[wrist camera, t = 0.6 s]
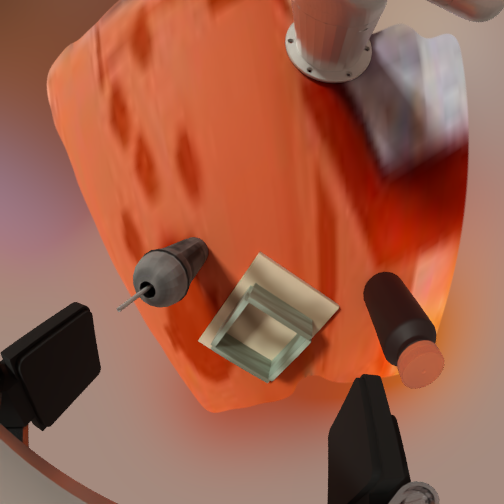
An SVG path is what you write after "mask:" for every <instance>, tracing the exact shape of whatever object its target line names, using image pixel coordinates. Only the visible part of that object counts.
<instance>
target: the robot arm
mask: <svg viewBox="0 0 504 504" xmlns="http://www.w3.org/2000/svg"><path fill="white" fill-rule="evenodd" d="M427 1H429V2H431V3H433V4H435V5H437V6H439V7H441V8H443V9H445V10H447V11H449V12H451V13H453V14H455V15H457V16H459V17H461V18H464V19H466V20H469V21H473V22H484V21H488V20H490V19H492V18H494V17H495V16H497V15H498V14H499V13H500V12H501V10H502V9H503V8H504V0H427ZM291 3H292V10H293V19H294V22H293V23H292V24H291V26H290V27H289V29H288V31H287V34H286V39H285V45H286V50H287V54H288V56H289V58H290V60H291V62H292V63H293V64H294V66H295V67H296V68H297V69H298V70H300V71H301V72H302V73H303V74H305V75H307V76H308V77H310V78H313V79H315V80H318V81H322V82H326V83H343V82H347V81H350V80H353V79H355V78H357V77H358V76H359V75H361V74H362V73H363V72H364V71H365V70H366V68H367V67H368V65H369V63H370V60H371V56H372V47H371V43H370V40H369V38H370V36H371V34H372V32H373V30H374V28H375V26H376V24H377V22H378V20H379V18H380V16H381V14H382V13H383V11H384V8H385V6H386V3H387V0H291ZM290 42H292V43H290ZM365 50H367V51H365ZM309 70H310V71H312V72H311V73H309V72H308V71H309ZM347 74H349V75H350V77H348V76H347ZM1 355H2V358H3V360H2V361H0V504H117V503H115V502H113V501H111V500H109V499H107V498H105V497H103V496H101V495H100V494H98V493H96V492H94V491H92V490H91V489H89V488H87V487H85V486H84V485H82V484H80V483H78V482H77V481H75V480H74V479H72V478H70V477H69V476H67V475H66V474H64V473H63V472H61V471H60V470H58V469H57V468H55V467H54V466H52V465H51V464H49V463H48V462H47V461H45V460H44V459H43V458H41V457H40V456H38V455H37V454H36V453H35V452H33V451H32V450H31V449H30V448H29V440H28V438H29V437H28V423H29V422H30V421H32V423H33V424H34V425H35V426H36V427H38V428H39V429H40V430H42V431H43V430H44V429H45V428H46V427H49V426H51V425H52V424H53V423H54V422H55V421H56V420H57V419H58V418H59V417H60V416H61V414H62V413H63V412H64V411H65V410H66V409H67V408H68V407H69V406H70V405H71V404H72V402H73V401H74V400H75V399H76V398H77V397H78V396H79V395H80V394H81V393H82V392H83V391H84V390H85V388H86V387H87V386H88V385H89V384H90V383H91V382H92V381H93V380H94V379H95V378H96V377H97V376H98V375H99V373H100V370H101V366H100V361H99V355H98V350H97V344H96V338H95V331H94V324H93V316H92V313H91V312H90V309H89V308H88V307H87V306H85V305H82V304H80V303H77V302H74V303H72V304H70V305H69V306H67V307H66V308H64V309H63V310H61V311H60V312H58V313H57V314H55V315H54V316H52V317H51V318H49V319H48V320H46V321H45V322H43V323H42V324H40V325H39V326H37V327H36V328H34V329H33V330H32V331H30V332H29V333H27V334H26V335H24V336H23V337H21V338H20V339H19V340H17V341H16V342H14V343H13V344H12V345H10V346H9V347H7V348H6V349H5V350H3V351H2V352H1ZM328 504H439V497H438V493H437V492H436V491H435V489H434V488H433V487H432V486H430V485H429V484H426V483H424V482H417V481H416V482H411V480H410V475H409V470H408V466H407V462H406V457H405V452H404V448H403V443H402V440H401V435H400V431H399V427H398V423H397V420H396V418H395V416H394V415H391V413H390V409H389V405H388V402H387V398H386V394H385V390H384V387H383V383H382V380H381V377H380V376H378V375H368V374H363V375H362V376H361V377H360V378H356V379H355V380H354V382H353V385H352V387H351V389H350V391H349V393H348V395H347V397H346V399H345V401H344V403H343V405H342V407H341V409H340V411H339V413H338V415H337V417H336V419H335V421H334V423H333V424H332V426H331V428H330V431H329V435H328Z"/></svg>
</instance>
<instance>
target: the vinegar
mask: <svg viewBox="0 0 504 504" xmlns="http://www.w3.org/2000/svg"><path fill="white" fill-rule="evenodd" d="M363 294H364V301H365V303H366V306H367V309H368V311H369V314H370V317H371V319H372V322H373V325H374V327H375V330H376V333H377V336H378V339H379V341H380V344H381V347H382V350H383V353H384V355H385V358H386V360H387V361H389V362H390V363H391V364H392V365H395V366H397V368H398V370H399V374H400V377H401V380H402V382H403V383H404V385H405V386H407V387H410V388H421V387H424V386H426V385H428V384H430V383H432V382H433V381H434V380H435V379H436V378H437V377H438V376H439V375H440V374H441V372H442V370H443V368H444V367H443V366H444V358H443V356H442V354H441V352H440V351H439V349H438V347H437V346H436V345H435V342H436V331H435V327H434V325H433V324H432V322H431V321H430V319H429V318H428V316H427V315H426V314H425V312H424V311H423V309H422V308H421V306H420V305H419V304H418V302H417V301H416V299H415V298H414V297H413V295H412V294H411V293H410V291H409V290H408V288H407V287H406V286H405V284H404V283H403V282H402V280H401V279H400V278H399V277H398V276H397V275H395V274H393V273H390V272H382V273H378V274H376V275H374V276H373V277H372V278H371V279H370V280H369V281H368V282H367V284H366V286H365V289H364V293H363Z"/></svg>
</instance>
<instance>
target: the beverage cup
mask: <svg viewBox="0 0 504 504" xmlns="http://www.w3.org/2000/svg"><path fill="white" fill-rule="evenodd" d="M207 257H208V248H207V246H206V244H205V243H204V242H203V241H202V240H201V239H199V238H195V237H192V238H189V239H185V240H182V241H180V242H177V243H175V244H173V245H170V246H168V247H165V248H162V249H156V250H151V251H149V252H148V253H146V254H145V255H144V256H143V257H142V259H141V260H140V261H139V263H138V264H137V265H136V267H135V271H134V274H133V284H134V287H135V290H136V294H135V295H134V296H132V297H131V298H130V299H128V300H127V301H126V302H124V303H123V304H122V305H120V306H119V307H118V308H117V310H118V312H120V311H122V310H123V309H124V308H125V307H127V306H128V305H129V304H130V303H132V302H133V301H135V300H136V299H137V298H139V297H140V298H141V299H142V300H143V301H144V302H146V303H147V304H149V305H151V306H155V307H167V306H170V305H172V304H174V303H176V302H178V301H180V300H182V299H183V298H184V297H185V295H186V294H187V291H188V289H189V286H190V283H191V282H192V280H193V279H194V277H195V276H196V274H197V273H198V271H199V270H200V269H201V267H202V266H203V264H204V262H205V260H206V259H207Z"/></svg>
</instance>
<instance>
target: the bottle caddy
mask: <svg viewBox="0 0 504 504" xmlns="http://www.w3.org/2000/svg"><path fill="white" fill-rule="evenodd" d="M338 309H339V305H338V304H337V303H335V302H334V301H332V300H331V299H329V298H328V297H327V296H325V295H324V294H322V293H321V292H319V291H318V290H316V289H315V288H313V287H312V286H310V285H309V284H307V283H306V282H304V281H303V280H301V279H300V278H298V277H297V276H296V275H294V274H293V273H291V272H290V271H288V270H287V269H285V268H284V267H282V266H281V265H279V264H278V263H276V262H275V261H273V260H272V259H270V258H269V257H267V256H266V255H264V254H263V253H261V252H259V254H258V255H257V257H256V258H255V260H254V261H253V262H252V264H251V265H250V267H249V268H248V270H247V271H246V273H245V274H244V275H243V277H242V278H241V280H240V281H239V283H238V284H237V286H236V287H235V288H234V290H233V291H232V293H231V294H230V296H229V297H228V298H227V300H226V301H225V303H224V304H223V306H222V307H221V308H220V310H219V311H218V313H217V314H216V316H215V317H214V319H213V320H212V321H211V323H210V324H209V326H208V327H207V329H206V330H205V331H204V333H203V334H202V336H201V337H200V339H199V340H198V341H199V342H201V343H202V344H204V345H205V346H207V347H208V348H210V349H211V350H213V351H214V352H216V353H218V354H219V355H221V356H222V357H224V358H226V359H227V360H229V361H230V362H232V363H234V364H235V365H237V366H239V367H240V368H242V369H244V370H245V371H247V372H249V373H251V374H252V375H254V376H256V377H258V378H259V379H261V380H263V381H265V382H266V383H268V382H269V381H273V380H274V379H275V378H276V377H277V376H278V375H279V374H280V373H281V372H282V371H283V370H284V369H285V368H286V367H288V366H289V365H290V364H291V363H292V361H293V360H294V359H295V358H296V357H297V356H298V355H299V354H300V353H301V352H302V351H303V350H304V349H305V348H306V347H307V346H308V345H309V344H310V343H311V339H312V337H313V336H314V335H315V334H316V333H317V332H318V331H319V330H320V329H321V328H322V327H323V326H324V324H325V323H326V322H327V321H328V320H329V319H330V318H331V317H332V315H333V314H334V313H335V312H336V311H337V310H338Z"/></svg>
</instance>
